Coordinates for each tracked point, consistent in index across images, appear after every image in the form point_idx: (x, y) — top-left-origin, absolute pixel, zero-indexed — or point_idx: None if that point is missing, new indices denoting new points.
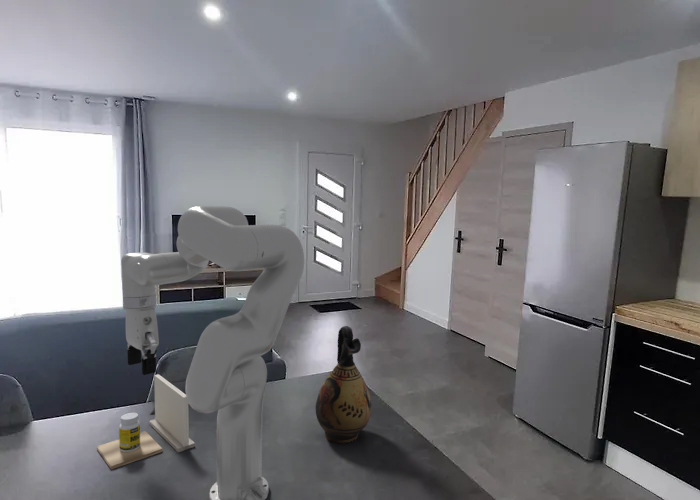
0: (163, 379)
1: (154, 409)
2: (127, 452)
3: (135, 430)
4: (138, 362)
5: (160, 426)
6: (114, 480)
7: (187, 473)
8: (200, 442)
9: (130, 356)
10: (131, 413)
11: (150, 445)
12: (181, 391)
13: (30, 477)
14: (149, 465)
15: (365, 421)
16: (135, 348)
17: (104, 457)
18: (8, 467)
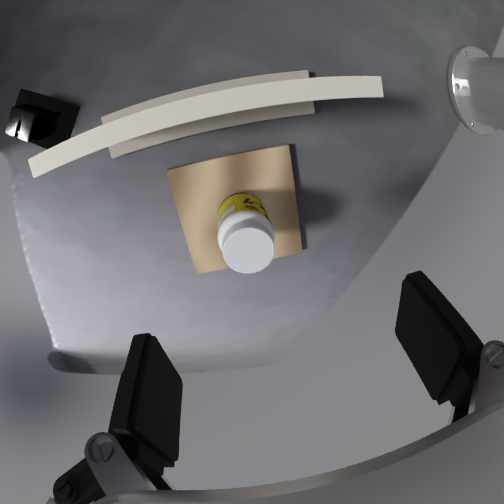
0: (94, 136)
1: (42, 144)
2: None
3: (270, 221)
4: (160, 348)
5: (160, 131)
6: (341, 245)
7: (398, 125)
8: (290, 53)
9: (176, 422)
10: (231, 245)
11: (255, 167)
12: (309, 78)
13: (249, 348)
14: (329, 181)
15: None
16: (150, 452)
17: None
18: (201, 370)
